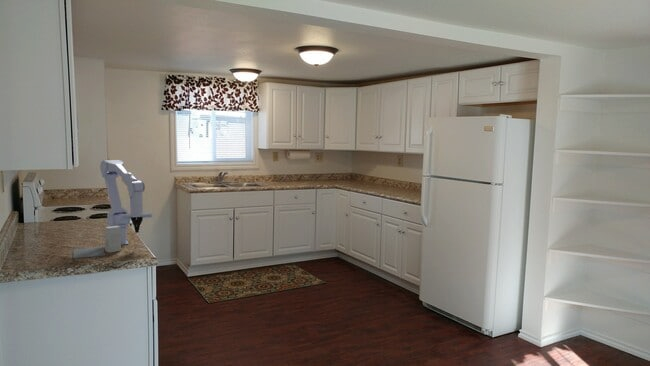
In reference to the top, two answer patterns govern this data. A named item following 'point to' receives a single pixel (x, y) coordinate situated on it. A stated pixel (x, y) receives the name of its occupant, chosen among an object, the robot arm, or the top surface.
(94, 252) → the mat
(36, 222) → the top surface
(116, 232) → the skincare box
